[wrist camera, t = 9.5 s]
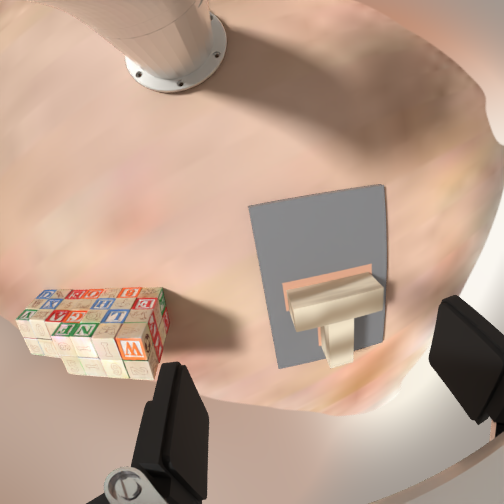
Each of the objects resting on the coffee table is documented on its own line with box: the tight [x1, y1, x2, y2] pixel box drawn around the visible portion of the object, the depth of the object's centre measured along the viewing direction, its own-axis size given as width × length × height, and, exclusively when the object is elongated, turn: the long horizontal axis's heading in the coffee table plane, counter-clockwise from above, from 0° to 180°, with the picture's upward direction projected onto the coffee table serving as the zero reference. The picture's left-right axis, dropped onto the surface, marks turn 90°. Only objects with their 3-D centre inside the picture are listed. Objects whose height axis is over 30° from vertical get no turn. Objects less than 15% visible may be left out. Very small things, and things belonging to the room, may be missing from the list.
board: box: [248, 184, 387, 369], centre depth 40 cm, size 26×18×1 cm
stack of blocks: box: [16, 287, 170, 380], centre depth 34 cm, size 21×6×12 cm, turn 92°
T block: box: [286, 272, 384, 368], centre depth 39 cm, size 12×12×5 cm
